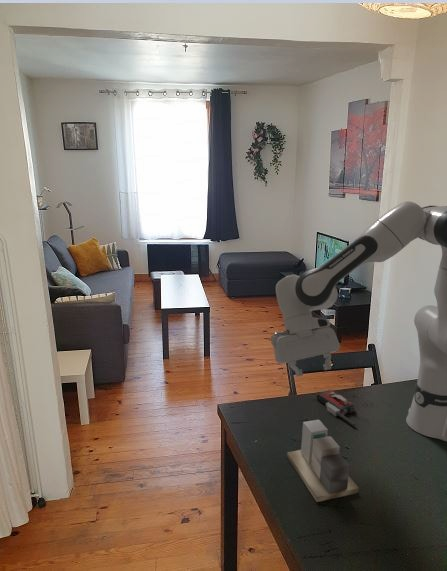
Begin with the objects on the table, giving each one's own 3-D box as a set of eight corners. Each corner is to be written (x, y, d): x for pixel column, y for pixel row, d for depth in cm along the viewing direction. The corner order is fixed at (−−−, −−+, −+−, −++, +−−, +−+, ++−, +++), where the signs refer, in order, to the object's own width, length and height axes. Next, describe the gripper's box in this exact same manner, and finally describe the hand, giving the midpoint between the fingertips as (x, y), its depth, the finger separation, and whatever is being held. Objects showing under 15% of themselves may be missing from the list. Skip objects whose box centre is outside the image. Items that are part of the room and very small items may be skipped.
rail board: (323, 449, 126) (326, 417, 123) (358, 492, 109) (362, 456, 106) (286, 456, 122) (288, 424, 120) (316, 502, 106) (319, 465, 103)
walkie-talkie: (311, 401, 153) (352, 429, 136) (312, 390, 152) (354, 417, 135) (329, 395, 157) (371, 422, 140) (330, 384, 156) (373, 410, 139)
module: (316, 449, 123) (318, 419, 120) (325, 460, 118) (328, 429, 115) (300, 452, 121) (303, 422, 119) (309, 464, 117) (311, 432, 114)
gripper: (272, 331, 121) (286, 378, 117) (334, 319, 127) (348, 363, 123) (265, 336, 127) (278, 381, 123) (324, 324, 133) (338, 367, 129)
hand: (314, 372), depth 123 cm, fingers open, 8 cm apart
